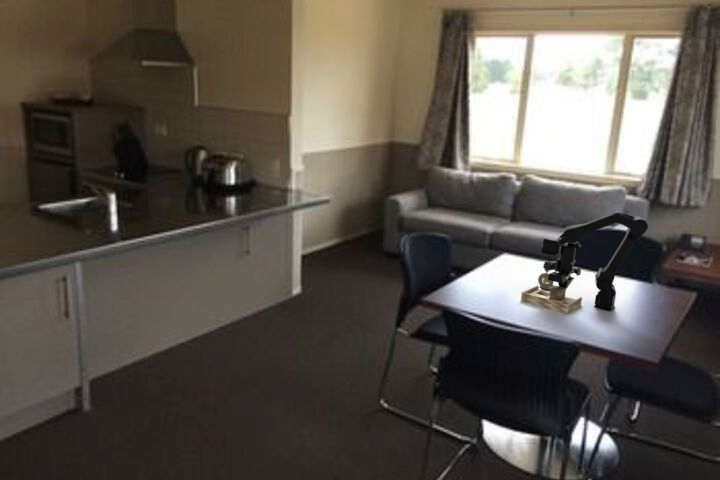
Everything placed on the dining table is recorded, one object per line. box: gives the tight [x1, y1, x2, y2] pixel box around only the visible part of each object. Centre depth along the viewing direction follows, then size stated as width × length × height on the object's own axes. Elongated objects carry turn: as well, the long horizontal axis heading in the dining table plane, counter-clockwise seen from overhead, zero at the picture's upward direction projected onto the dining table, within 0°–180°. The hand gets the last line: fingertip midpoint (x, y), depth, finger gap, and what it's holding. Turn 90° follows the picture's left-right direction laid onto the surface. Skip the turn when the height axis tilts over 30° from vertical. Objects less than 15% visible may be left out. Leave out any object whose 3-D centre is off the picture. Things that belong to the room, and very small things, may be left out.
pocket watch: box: [537, 268, 555, 291], centre depth 264 cm, size 8×8×10 cm
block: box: [549, 285, 567, 301], centre depth 246 cm, size 4×4×4 cm
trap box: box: [520, 284, 583, 314], centre depth 247 cm, size 20×14×4 cm
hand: (561, 293), depth 250 cm, fingers closed
